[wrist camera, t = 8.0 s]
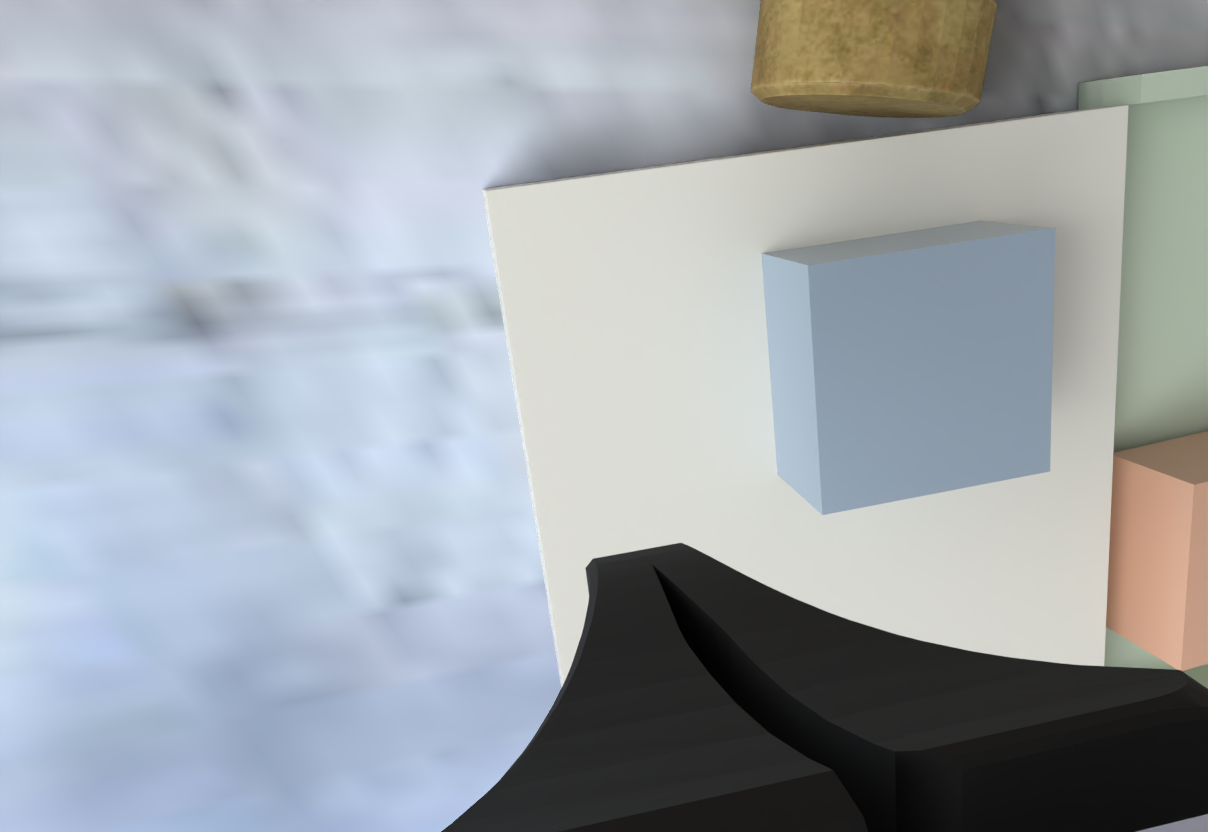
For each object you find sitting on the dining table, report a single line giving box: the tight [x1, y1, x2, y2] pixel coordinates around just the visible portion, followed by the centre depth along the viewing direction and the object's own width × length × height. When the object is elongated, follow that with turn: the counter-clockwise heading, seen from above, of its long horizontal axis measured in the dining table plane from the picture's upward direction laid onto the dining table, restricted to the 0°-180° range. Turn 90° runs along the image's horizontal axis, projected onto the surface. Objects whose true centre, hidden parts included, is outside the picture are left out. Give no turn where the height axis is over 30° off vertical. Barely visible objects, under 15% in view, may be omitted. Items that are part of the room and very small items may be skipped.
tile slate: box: [761, 221, 1055, 515], centre depth 18 cm, size 5×5×2 cm
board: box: [482, 105, 1128, 688], centre depth 21 cm, size 16×14×2 cm
